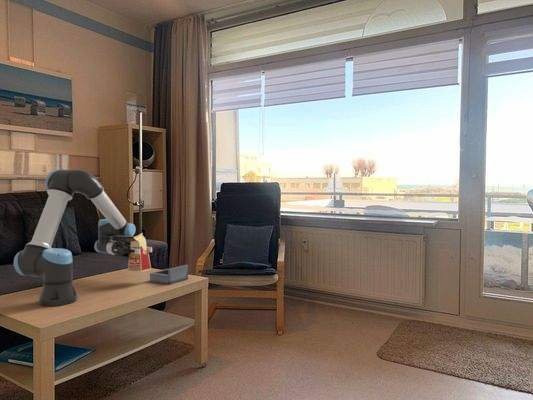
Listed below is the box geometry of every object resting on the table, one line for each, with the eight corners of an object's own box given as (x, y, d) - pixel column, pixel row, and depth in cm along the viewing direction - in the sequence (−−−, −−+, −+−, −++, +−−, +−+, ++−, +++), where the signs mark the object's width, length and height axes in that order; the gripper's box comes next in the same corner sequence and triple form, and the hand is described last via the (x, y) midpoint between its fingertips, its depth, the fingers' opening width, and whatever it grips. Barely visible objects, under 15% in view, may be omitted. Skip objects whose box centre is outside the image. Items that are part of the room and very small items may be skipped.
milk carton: (138, 268, 219) (138, 232, 219) (151, 269, 215) (151, 232, 215) (126, 271, 211) (126, 233, 211) (139, 272, 207) (139, 234, 207)
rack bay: (170, 284, 210) (170, 269, 210) (150, 281, 218) (149, 266, 218) (188, 279, 222) (188, 265, 222) (168, 276, 230) (168, 262, 230)
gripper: (131, 252, 231) (159, 255, 219) (101, 256, 213) (130, 260, 202) (131, 239, 231) (159, 241, 219) (101, 242, 213) (130, 245, 202)
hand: (145, 250), depth 211 cm, fingers closed on milk carton, 7 cm apart
